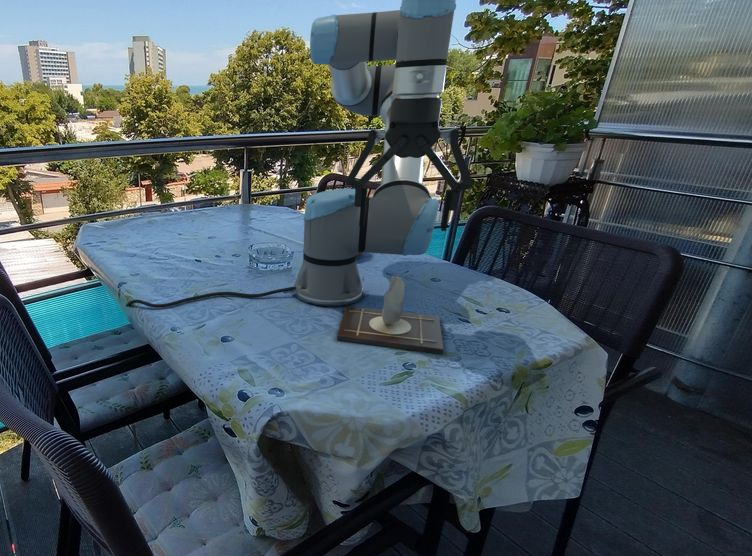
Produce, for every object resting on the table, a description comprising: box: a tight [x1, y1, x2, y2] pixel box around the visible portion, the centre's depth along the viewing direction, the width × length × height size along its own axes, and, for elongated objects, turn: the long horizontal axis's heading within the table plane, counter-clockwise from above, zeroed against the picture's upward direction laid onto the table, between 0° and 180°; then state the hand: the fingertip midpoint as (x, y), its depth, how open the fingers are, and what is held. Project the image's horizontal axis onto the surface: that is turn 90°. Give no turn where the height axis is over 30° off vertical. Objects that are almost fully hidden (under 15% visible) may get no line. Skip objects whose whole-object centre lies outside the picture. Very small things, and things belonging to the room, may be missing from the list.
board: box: [336, 305, 444, 355], centre depth 89 cm, size 18×14×1 cm
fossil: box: [382, 275, 406, 325], centre depth 87 cm, size 6×4×10 cm, turn 167°
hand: (401, 226), depth 83 cm, fingers open, 13 cm apart
